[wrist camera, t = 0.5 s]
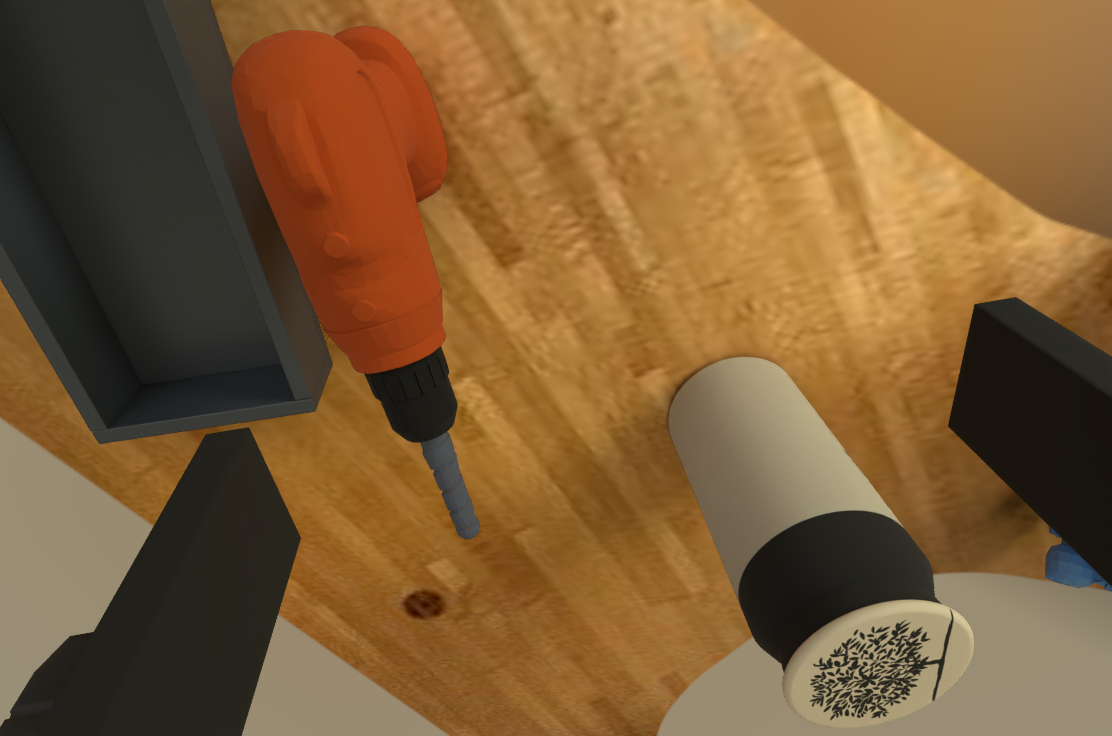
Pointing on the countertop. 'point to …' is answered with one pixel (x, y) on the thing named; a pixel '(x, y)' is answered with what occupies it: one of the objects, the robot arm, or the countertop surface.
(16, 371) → the countertop surface
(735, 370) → the travel mug
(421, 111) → the toy drill
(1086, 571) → the grapes
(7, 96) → the tray
